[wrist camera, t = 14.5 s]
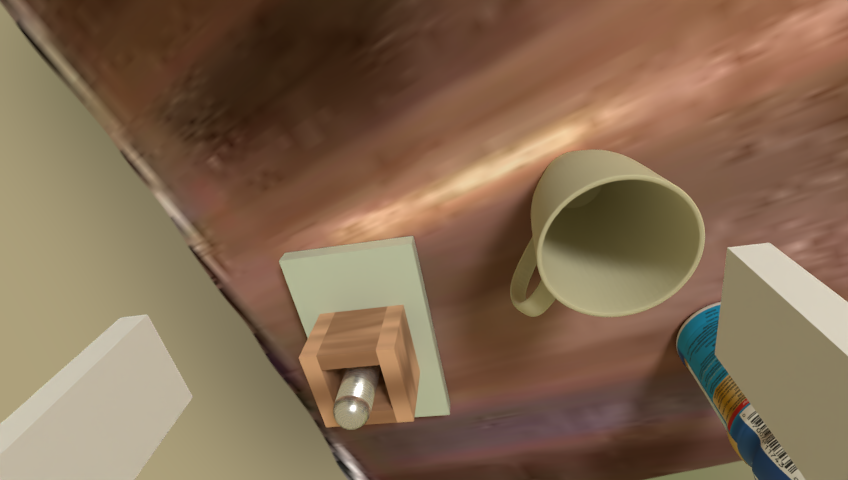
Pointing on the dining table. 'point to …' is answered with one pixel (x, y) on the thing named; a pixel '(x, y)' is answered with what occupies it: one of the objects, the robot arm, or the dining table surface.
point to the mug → (607, 237)
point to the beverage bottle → (731, 399)
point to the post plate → (372, 299)
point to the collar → (364, 360)
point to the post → (356, 396)
